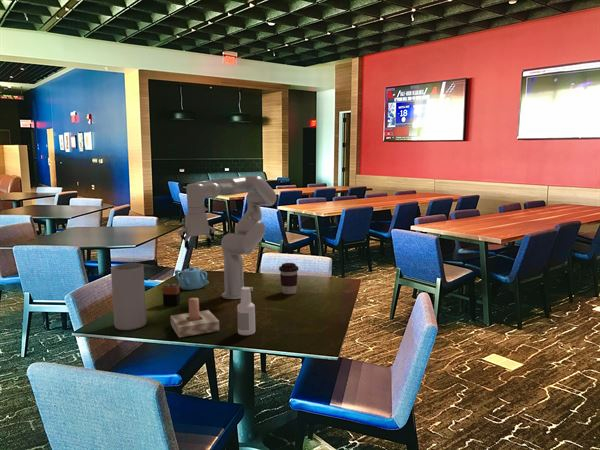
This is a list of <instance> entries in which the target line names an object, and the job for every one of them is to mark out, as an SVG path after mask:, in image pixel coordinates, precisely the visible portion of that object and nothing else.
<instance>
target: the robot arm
mask: <svg viewBox="0 0 600 450" xmlns="http://www.w3.org/2000/svg"><path fill="white" fill-rule="evenodd" d="M245 193H247V194H246V201H247V209H246V212H245V213H244V214H243V216H242V217H241V218H240V220H238V222H237V223H236V225H235V227H234V232H235V233H227V234H225V235H223V237H222V238H221V243H220V245H221V250H222V256H223V275H224V276H223V279H224V292H223V293H221V298H222V299H227V300H241V288H242V287H246V286H245V284H244V260H243V256H242V255H250V254H251V253H253V252H254V250H255V249H256V248H257V246H258V245H259V244H260V243H261V240H262V239H263V238H264V236H265V233H266V225H265V223H264V222H263V221H262V219H263V218H262V217H263V215H262V209H261V206H263V207H264V206H265V207H272V206H273V205H275V203H276V202H277V194H276V191H275V190H274V189H273V188H272V187H271V186H270V185H269V183H268V182H267V181H266V180H265V179H264V178H262V177H261V176H260V175H241V176H240V175H239V176H234V177H226V178H225V177H223V178H219V179H210V180H209V179H207V180H203V181H197V182H195V183H189V184H187V185H186V203H187V204H186V205H187V213H186V214H185V219H184V220H185V221H184V227H183V228H181V229H180V230H178V231H177V234H178V235H179V237H180V239H182V240H184V241H183V242H184V248H185V250H190V241H189V239H190V237H198V236H199V237H201V236H205V237H206V238H205V240H206V247H207V248H211V246H212V240H211V239H212V238H213V236H214V235H215V233H216V230H217V228H215V227H212V226H210V225H209V220H208V215H207V213H206V211H208V207H206V206H205V199H216V198H218V197H219V196H224V197H225V196H234V195H241V194H245ZM209 229H210V230H211V232H210V230H209ZM183 233H185V236H184V234H183ZM248 287H249V286H248ZM249 288H250V292H252V291H254V287H253V286H250V287H249Z"/></svg>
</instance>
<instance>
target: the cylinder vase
mask: <svg viewBox="0 0 600 450" xmlns="http://www.w3.org/2000/svg"><path fill="white" fill-rule="evenodd" d="M144 270H145V269H144V264H143V263H139V262H138V263H137V262H135V263H134V262H130V263H121V264H120V263H119V264H115V265H113V266H111V267H110V275H111V279H110V280H111V292H112V293H111V294H112V308H113V309H112V310H113V322H114V327H115V328H116V330H120V331H132V330H133V331H134V330H137V329H140V328H142V327H145V325H147V307H146V304H147V303H146V289H145V288H146V287H145V271H144Z"/></svg>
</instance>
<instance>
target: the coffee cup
mask: <svg viewBox="0 0 600 450" xmlns="http://www.w3.org/2000/svg"><path fill="white" fill-rule="evenodd" d="M278 270H279V272H280V273H279V277H280V285H281V293H282V294H283V295H293V294H296V293H297V285H298V271H299V266H298V265H296V263H294V262H284V263H282V264H281V265H280V266H279V267H278Z"/></svg>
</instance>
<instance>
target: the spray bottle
mask: <svg viewBox="0 0 600 450" xmlns="http://www.w3.org/2000/svg"><path fill="white" fill-rule="evenodd" d="M251 294H252V293H251V291H250V288H249V286H245V287H242V288H241V298H240V303H238V304H237V307H236V310H237V311H236V312H237V313H236V314H237V333H238V335H240V336H250V335H251V336H252V335H254V334H255V333H256V305H255V304H254V303H253V302H252V295H251Z"/></svg>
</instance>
